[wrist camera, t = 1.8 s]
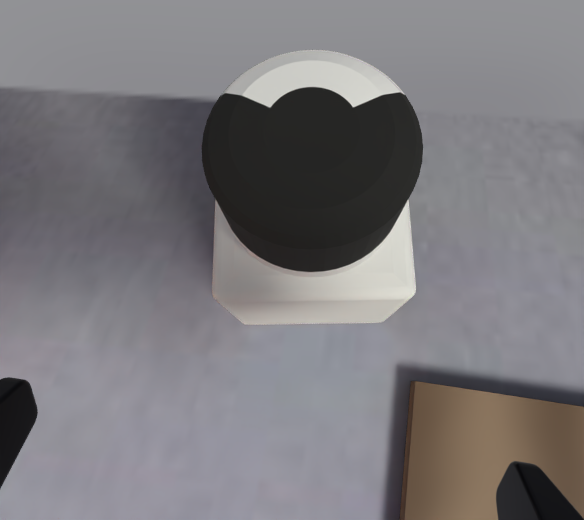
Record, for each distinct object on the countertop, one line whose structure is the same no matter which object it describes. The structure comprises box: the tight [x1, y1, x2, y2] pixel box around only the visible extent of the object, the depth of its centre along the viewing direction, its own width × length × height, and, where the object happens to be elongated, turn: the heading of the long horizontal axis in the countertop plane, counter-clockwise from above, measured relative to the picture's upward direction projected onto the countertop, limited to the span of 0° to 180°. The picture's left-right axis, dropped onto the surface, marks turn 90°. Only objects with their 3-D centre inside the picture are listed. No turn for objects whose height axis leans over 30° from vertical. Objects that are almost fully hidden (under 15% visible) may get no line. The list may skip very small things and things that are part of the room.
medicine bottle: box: [202, 50, 423, 325], centre depth 17 cm, size 7×7×12 cm
